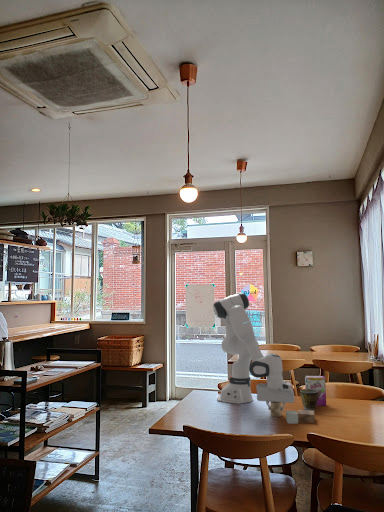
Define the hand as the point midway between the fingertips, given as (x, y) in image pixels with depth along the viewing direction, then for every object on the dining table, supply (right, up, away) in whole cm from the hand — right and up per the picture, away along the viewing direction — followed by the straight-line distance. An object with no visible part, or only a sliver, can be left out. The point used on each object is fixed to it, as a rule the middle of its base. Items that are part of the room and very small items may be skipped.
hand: (276, 410), depth 209 cm
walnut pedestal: (+14, -1, -10) cm, 17 cm away
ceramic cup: (+21, -4, +10) cm, 24 cm away
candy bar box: (+28, -5, +19) cm, 34 cm away
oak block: (0, -3, 0) cm, 3 cm away
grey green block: (+6, -1, -12) cm, 14 cm away
